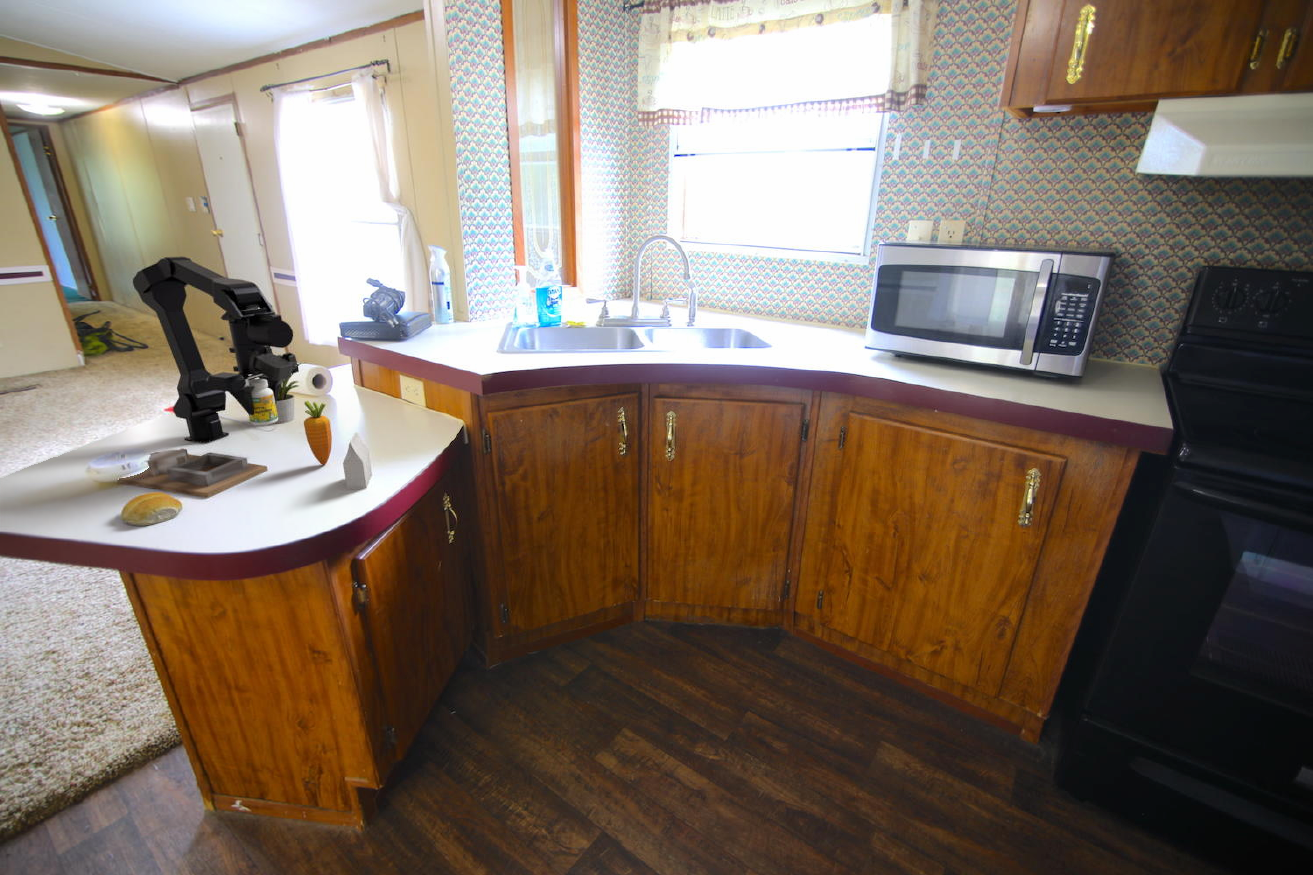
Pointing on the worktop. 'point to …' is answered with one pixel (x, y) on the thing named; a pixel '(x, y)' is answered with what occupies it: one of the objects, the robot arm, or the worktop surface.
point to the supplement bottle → (262, 403)
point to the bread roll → (151, 509)
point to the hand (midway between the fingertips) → (262, 411)
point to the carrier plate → (194, 472)
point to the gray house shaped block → (357, 464)
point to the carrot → (318, 432)
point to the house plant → (286, 401)
